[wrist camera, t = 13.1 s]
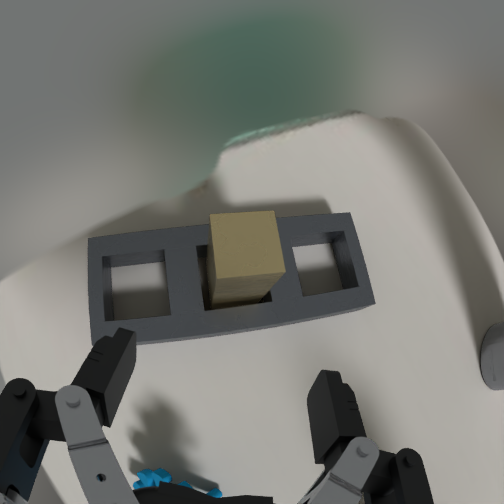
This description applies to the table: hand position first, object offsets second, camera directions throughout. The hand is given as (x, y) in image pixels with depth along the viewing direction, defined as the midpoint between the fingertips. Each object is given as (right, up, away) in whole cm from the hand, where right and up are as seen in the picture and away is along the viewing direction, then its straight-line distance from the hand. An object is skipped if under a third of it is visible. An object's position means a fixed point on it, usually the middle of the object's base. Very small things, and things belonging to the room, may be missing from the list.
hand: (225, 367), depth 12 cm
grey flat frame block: (-1, +2, +15) cm, 15 cm away
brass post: (-1, +2, +15) cm, 15 cm away
